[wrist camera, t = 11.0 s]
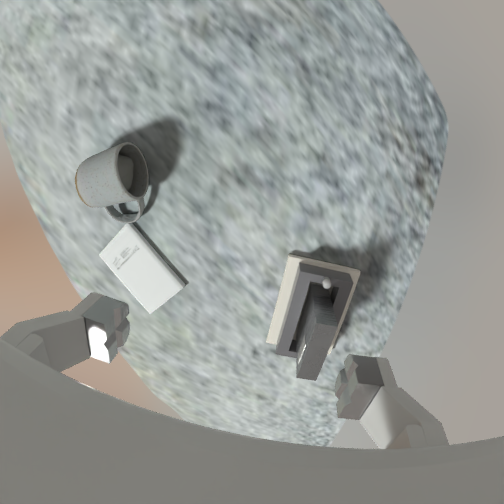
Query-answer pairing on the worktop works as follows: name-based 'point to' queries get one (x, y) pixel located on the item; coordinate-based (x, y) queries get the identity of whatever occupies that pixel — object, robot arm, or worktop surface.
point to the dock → (295, 295)
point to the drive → (315, 332)
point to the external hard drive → (141, 268)
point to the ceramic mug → (114, 180)
